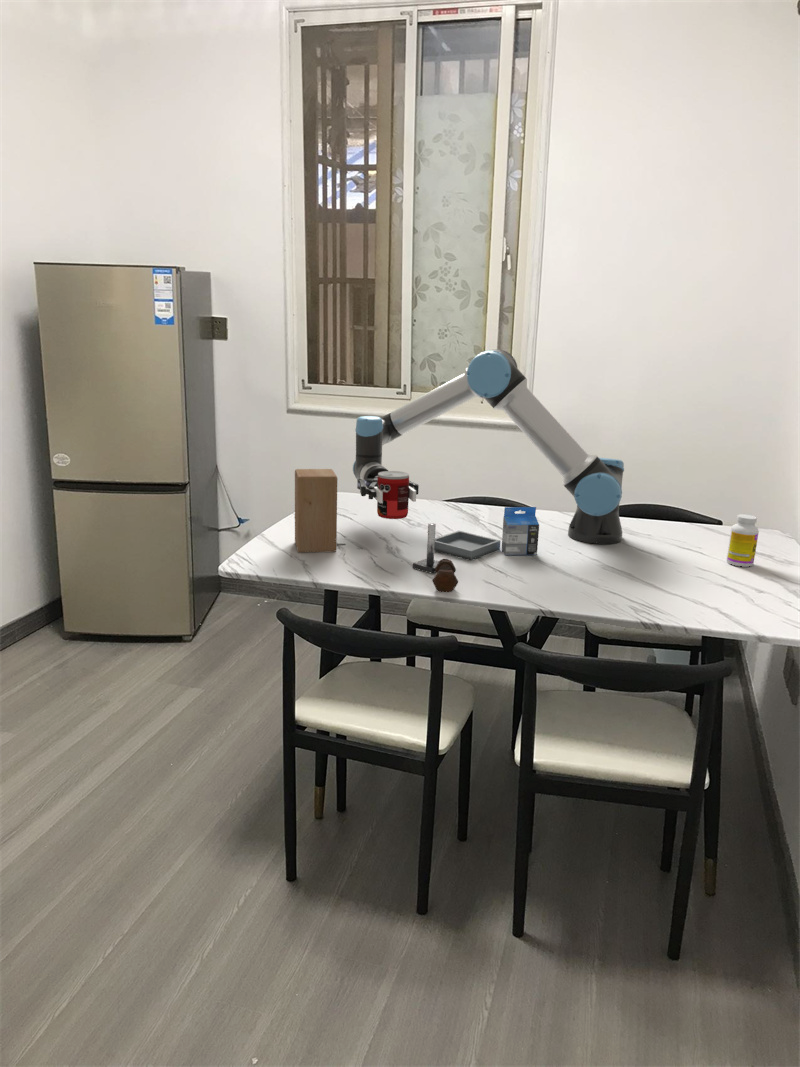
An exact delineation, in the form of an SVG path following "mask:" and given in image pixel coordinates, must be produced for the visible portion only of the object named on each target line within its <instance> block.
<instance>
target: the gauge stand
mask: <svg viewBox="0 0 800 1067" xmlns="http://www.w3.org/2000/svg"><path fill="white" fill-rule="evenodd" d="M436 525H437V524H436V523H434V522H430V523H428V524H427V545H426V547H427V548H426V558H424V559H422V560H418V561H416V562H413V563H412V568H413V569H415V568H416V569H415V570H418V569H420V570H419V571H422V570H423V571H422V572H425V571H427V572H426V573H429V572H431V573H430V574H435V573H436V571H435V567H436V565H437V564H438V562H439V561H440V560H436V559H435V551H434V549H435V538H436V529H437V528H436ZM434 572H435V573H434Z"/></svg>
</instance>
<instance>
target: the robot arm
mask: <svg viewBox="0 0 800 1067" xmlns="http://www.w3.org/2000/svg"><path fill="white" fill-rule="evenodd" d="M474 398H480V399H482V398H484V400H485V401H486V402H487V403H488V404H489V405H490V406H491V407H492V409H494V410H498V411H503V412H504V413H505V414H506V415H507V416H508V418H509V419H510V420H511V421H512V422H513V423H514V424H515V425H516V426H517V427H518V428H519V430H520V431H521V432H522V433H523V434H524V435H525V437H527V439H529V440H530V441H531V442H532V444H533V445H534V446H535V447H536V448H537V449H538V450H539V451H540V453H541V454H542V455H543V456H544V457H545V458H546V459H547V460H548V462H549V463H550V464H551V465H552V466H553V467H554V468H555V469H556V470H557V471H558V473H560V475H562V486H564V488H565V489H566V490H567V491H568V493H570V495H572V497H573V498H574V500H575V503H576V509H575V512H574V514H573V516H572V519H571V521H570V523H569V525H568V531H567V535H568V537H569V538H571V539H573V540H576V541H578V542H579V541H580V542H583V543H589V544H596V545H597V544H599V545H608V544H609V545H610V544H611V545H612V544H616V543H617V544H618V543H620V542H621V541H622V540H623V530H622V529H623V528H622V523H621V520H620V513H619V512H620V511H619V510H620V504H621V503H620V502H621V500H622V494H623V489H622V484H623V476H624V472H625V468H624V466H625V465H624V464H625V463H624V461H623V460H622V459H617V458H606V457H598V455H596V454H588V453H587V452H586V451H585V450H584V449H583V447H582V446H581V445H580V444H579V443H578V442H577V441H576V440H575V439H574V437H573V436H572V435H570V433H569V432H568V431H567V430H566V429H565V427H563V426H562V425H561V424H560V422H559V421H558V420H557V419H556V418H555V417H554V416H553V415H552V413H550V411H549V410H548V409H547V408H546V407H545V406H544V405H543V404H542V403H541V401H540V400H539V399H538V398H537V397H536V396H535V395H534V393H533V392H531V390H530V389H529V388H528V378H527V377H526V376H525V375H524V373H522V372H521V371H520V370H519V368H518V364H517V361H516V359H515V358H514V356H513V355H512V354H511V353H509V352H508V351H506V350H503V349H489V350H488V349H487V350H484V351H482V352H479V353H478V354H477V355H476V356H474V357H473V359H471V361H470V363H469V364H468V366H467V367H466V368H465V371H464V372H463V373H462V374H460V375H458V376H456V377H454V378H453V379H451V380H449V381H446V382H445V383H444V384H441V385H439V386H437V387H436V388H434V389H432V390H430V391H428V392H426V393H425V394H423V395H421V396H419V397H417V398H415V399H413V400H412V401H410V402H408V403H406V404H404V405H402V406H401V407H399V408H396V409H395V410H393V411H391V412H390V413H388V414H385V415H384V416H382V417H380V416H375V415H364V416H359V417H357V419H356V422H355V423H356V425H355V429H354V430H355V461H354V462H353V464H352V472H353V475H354V477H355V479H357V480H356V481H357V482H356V483H357V484H356V485H357V486H356V488H357V489H358V490H359V492H360V497H361V496H362V497H365V496H367V495H368V500H374V499H375V500H376V502H377V501H378V502H379V503H383V492H382V491H381V490H380V489H379V488H378V473H380V472H384V471H389V470H388V469H387V468H386V467H385V466H384V465H382V464H383V461H382V460H383V446H384V445H386V444H388V443H390V442H393V441H394V440H395V439H398V438H400V437H402V436H403V435H405V434H407V433H410V432H411V431H413V430H414V429H417V428H419V427H420V426H423V425H425V424H426V423H429V422H431V421H432V420H434V419H437V418H438V417H440V416H442V415H444V414H446V413H448V412H450V411H452V410H454V409H456V408H457V407H459V406H461V405H463V404H465V403H467V402H469V401H471V400H473V399H474ZM419 486H420V485H419V484H417V483H415V482H413V481H412V480H409V499H410V501H412V502H413V503H414V502H416V501H417V495H419V490H420V489H419Z"/></svg>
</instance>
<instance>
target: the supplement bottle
mask: <svg viewBox="0 0 800 1067" xmlns="http://www.w3.org/2000/svg"><path fill="white" fill-rule="evenodd" d="M757 519H758V518H757V517H756V516H755V515H751V514H745V513H744V514H737V517H736V522H737V523H735V524H733V525H732V526H731V529H730V535H729V541H728V546H727V554H726V558H725V559H726V562H727V563H728V564H729V565H731V564H732V565H731V566H734V565H735V567H740V566H742V567H741V568H750V567H752V566H754V562H755V556H756V551H757V544H758V539H759V532H760V530H759V528H758V527H757V526H756V523H757ZM749 566H750V567H749Z"/></svg>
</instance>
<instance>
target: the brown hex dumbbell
mask: <svg viewBox="0 0 800 1067" xmlns="http://www.w3.org/2000/svg"><path fill="white" fill-rule="evenodd" d="M438 561H439V562H438V564H437V565H436V567H435V571H436V572H435V573H436V574H435V576H434V577H433V578H432V579H431V580H432V581H431V582H432V583H433V585H434V586H433V587H435V589H436V591H437V592H438V591H439V592H438V593H452V592H453V591H454V590H455V589H456V587H457V585H458V583H459V580H458V578H457V576H456V575H455V573H456V571H457V568H456V567H455V565H454V563H453V560H451V559H448V558H442V559H440V560H438Z"/></svg>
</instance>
